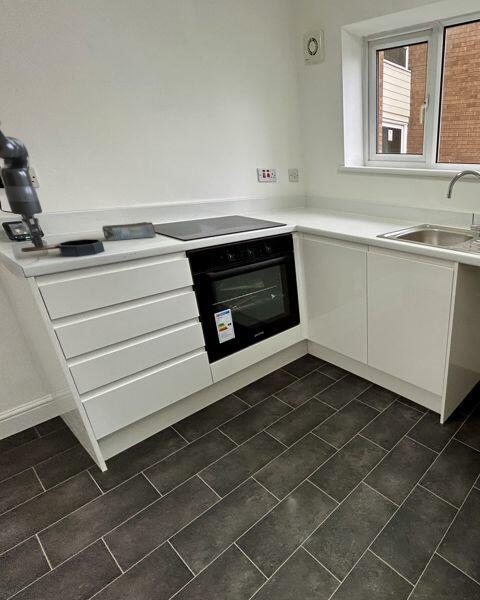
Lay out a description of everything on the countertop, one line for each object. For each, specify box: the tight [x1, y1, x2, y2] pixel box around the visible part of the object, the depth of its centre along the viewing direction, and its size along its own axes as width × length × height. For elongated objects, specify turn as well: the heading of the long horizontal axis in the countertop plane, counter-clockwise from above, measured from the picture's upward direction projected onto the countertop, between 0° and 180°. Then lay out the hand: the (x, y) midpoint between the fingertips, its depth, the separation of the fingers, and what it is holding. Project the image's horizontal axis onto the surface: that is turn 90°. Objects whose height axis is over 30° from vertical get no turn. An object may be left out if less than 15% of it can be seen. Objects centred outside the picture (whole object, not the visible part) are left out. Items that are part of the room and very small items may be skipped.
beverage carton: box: [102, 221, 156, 242], centre depth 162 cm, size 8×19×7 cm, turn 127°
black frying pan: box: [20, 238, 106, 258], centre depth 132 cm, size 22×13×4 cm, turn 140°
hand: (38, 245), depth 126 cm, fingers open, 8 cm apart
